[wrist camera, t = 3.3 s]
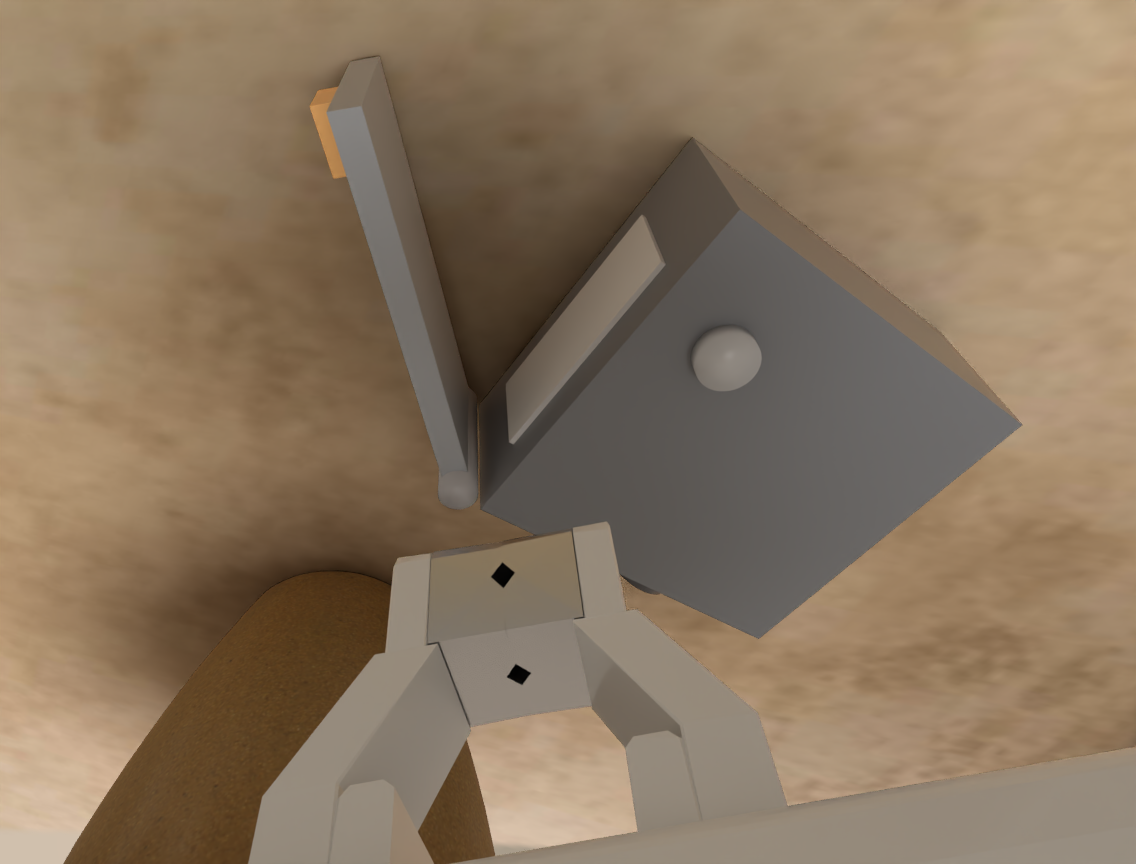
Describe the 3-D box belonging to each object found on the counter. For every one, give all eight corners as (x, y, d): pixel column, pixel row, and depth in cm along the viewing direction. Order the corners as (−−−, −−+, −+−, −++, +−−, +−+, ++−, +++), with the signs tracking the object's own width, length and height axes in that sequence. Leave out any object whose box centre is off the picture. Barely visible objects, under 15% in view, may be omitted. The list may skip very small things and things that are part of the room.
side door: (387, 54, 22) (368, 109, 18) (480, 410, 29) (481, 505, 25) (324, 65, 22) (292, 123, 18) (433, 418, 29) (427, 515, 25)
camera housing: (941, 332, 30) (1031, 434, 25) (706, 548, 35) (743, 665, 30) (688, 134, 24) (741, 214, 20) (460, 422, 30) (458, 539, 25)
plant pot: (568, 562, 35) (623, 998, 22) (425, 752, 42) (405, 1162, 29) (203, 443, 30) (0, 927, 17) (113, 684, 37) (-77, 1148, 24)
